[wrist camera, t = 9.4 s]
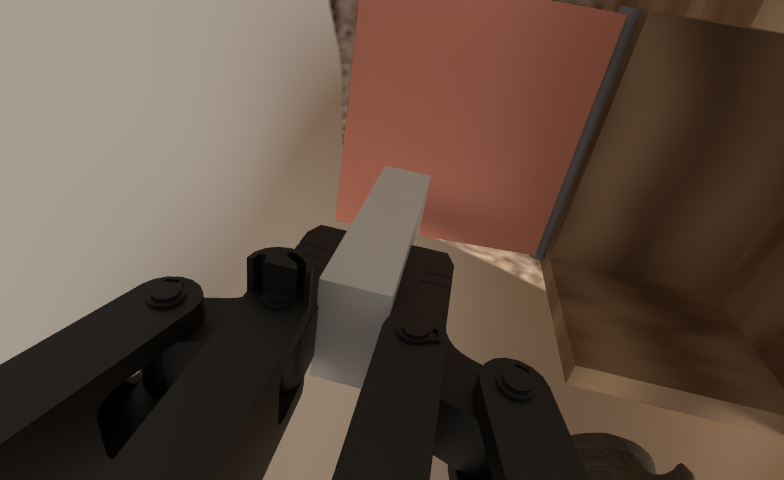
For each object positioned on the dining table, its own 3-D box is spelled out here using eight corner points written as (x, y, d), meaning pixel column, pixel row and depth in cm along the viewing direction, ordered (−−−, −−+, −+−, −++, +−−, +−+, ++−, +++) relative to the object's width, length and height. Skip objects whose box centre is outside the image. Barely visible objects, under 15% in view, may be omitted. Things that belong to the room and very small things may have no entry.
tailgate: (647, 10, 20) (363, -43, 20) (546, 261, 27) (335, 224, 27) (633, 8, 21) (368, -41, 21) (540, 247, 28) (340, 212, 28)
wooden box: (798, 15, 27) (1442, 79, 9) (671, 242, 35) (870, 515, 17) (611, -19, 28) (854, -23, 10) (530, 211, 36) (577, 442, 18)
